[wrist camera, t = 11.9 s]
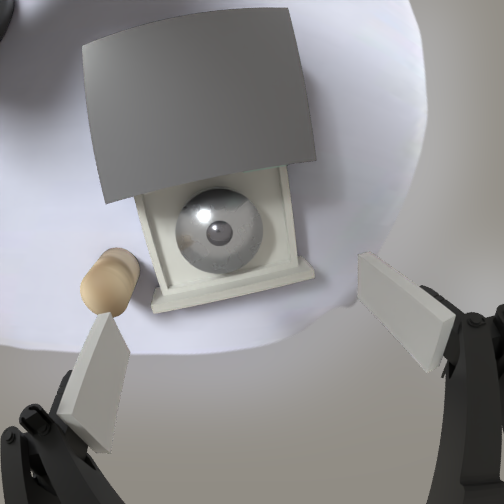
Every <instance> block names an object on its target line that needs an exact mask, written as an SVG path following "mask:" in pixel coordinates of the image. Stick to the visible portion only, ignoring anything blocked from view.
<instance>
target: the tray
mask: <svg viewBox="0 0 504 504" xmlns="http://www.w3.org/2000/svg"><path fill="white" fill-rule="evenodd" d="M216 186H223V187H229V188H232V189H235V190H237V191H239V192H241V193H242V194H244V195H245V196H246V197H247V198H248V199H249V200H250V201H251V202H252V203H253V204H254V206H255V207H256V208H257V210H258V212H259V214H260V216H261V219H262V223H263V238H262V242H261V245H260V248H259V250H258V251H257V253H256V254H255V256H254V257H253V258H252V259H251V261H249V262H248V263H247V264H246V265H244V266H243V267H241V268H239V269H238V270H235V271H232V272H229V273H223V274H214V273H208V272H204V271H201V270H199V269H197V268H195V267H194V266H192V265H191V264H190V263H189V262H188V261H187V260H186V259H185V258H184V257H183V255H182V254H181V252H180V250H179V248H178V245H177V242H176V236H175V230H176V223H177V220H178V216H179V213H180V211H181V209H182V207H183V205H184V204H185V203H186V201H187V200H188V199H189V198H190V197H191V196H193V195H194V194H195V193H197V192H199V191H201V190H203V189H206V188H209V187H216ZM134 199H135V203H136V207H137V211H138V215H139V219H140V222H141V226H142V230H143V233H144V237H145V240H146V244H147V247H148V250H149V254H150V257H151V260H152V264H153V267H154V270H155V273H156V276H157V279H158V282H159V285H160V287H158V288H155V291H154V295H153V299H152V302H151V308H152V311H153V313H154V314H156V313H161V312H167V311H172V310H177V309H182V308H187V307H192V306H196V305H201V304H206V303H211V302H215V301H220V300H224V299H229V298H233V297H238V296H242V295H247V294H251V293H255V292H260V291H264V290H268V289H272V288H277V287H281V286H285V285H289V284H293V283H297V282H301V281H305V280H309V279H313V278H315V274H314V269H313V268H312V266H311V265H310V264H309V263H308V262H307V261H306V260H305V259H304V258H303V257H302V256H298V257H297V248H296V238H295V229H294V221H293V212H292V204H291V196H290V188H289V181H288V174H287V166H284V167H277V168H271V169H265V170H259V171H253V172H247V173H243V172H239V173H233V174H228V175H223V176H218V177H213V178H208V179H203V180H199V181H194V182H190V183H185V184H181V185H177V186H172V187H168V188H164V189H160V190H156V191H155V192H153V193H150V194H141V195H137V196H134Z"/></svg>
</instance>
